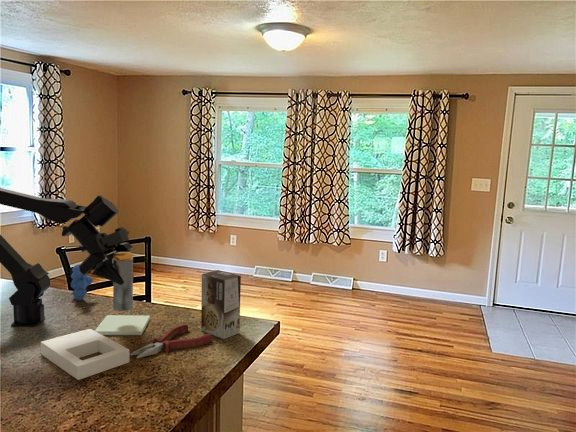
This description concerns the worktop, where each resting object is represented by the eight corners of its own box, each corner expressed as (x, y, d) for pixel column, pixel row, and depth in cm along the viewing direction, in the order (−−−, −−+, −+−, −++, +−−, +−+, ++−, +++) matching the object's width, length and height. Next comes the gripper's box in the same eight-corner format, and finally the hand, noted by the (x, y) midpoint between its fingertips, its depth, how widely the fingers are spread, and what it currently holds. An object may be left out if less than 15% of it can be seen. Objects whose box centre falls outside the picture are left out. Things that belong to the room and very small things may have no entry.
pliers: (119, 353, 113) (119, 343, 113) (185, 331, 129) (185, 322, 129) (147, 369, 106) (147, 358, 106) (213, 343, 122) (214, 333, 122)
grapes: (98, 303, 147) (98, 265, 146) (75, 306, 143) (74, 268, 142) (88, 293, 156) (88, 258, 155) (66, 296, 152) (66, 260, 151)
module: (116, 312, 125) (116, 256, 123) (110, 306, 129) (110, 252, 127) (135, 308, 128) (135, 254, 126) (129, 303, 132) (129, 251, 130)
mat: (94, 335, 123) (94, 331, 122) (106, 318, 134) (106, 315, 134) (141, 335, 124) (141, 331, 124) (150, 318, 136) (150, 315, 136)
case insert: (41, 354, 110) (40, 341, 110) (90, 339, 119) (90, 328, 119) (78, 380, 99) (77, 366, 99) (129, 362, 108) (129, 349, 108)
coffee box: (240, 333, 128) (242, 275, 126) (223, 339, 123) (224, 279, 121) (217, 324, 134) (218, 269, 131) (199, 330, 129) (200, 273, 126)
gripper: (89, 223, 117) (131, 270, 116) (126, 214, 135) (162, 255, 135) (60, 252, 119) (101, 298, 119) (101, 239, 137) (136, 279, 137)
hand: (127, 281), depth 127 cm, fingers closed on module, 5 cm apart
